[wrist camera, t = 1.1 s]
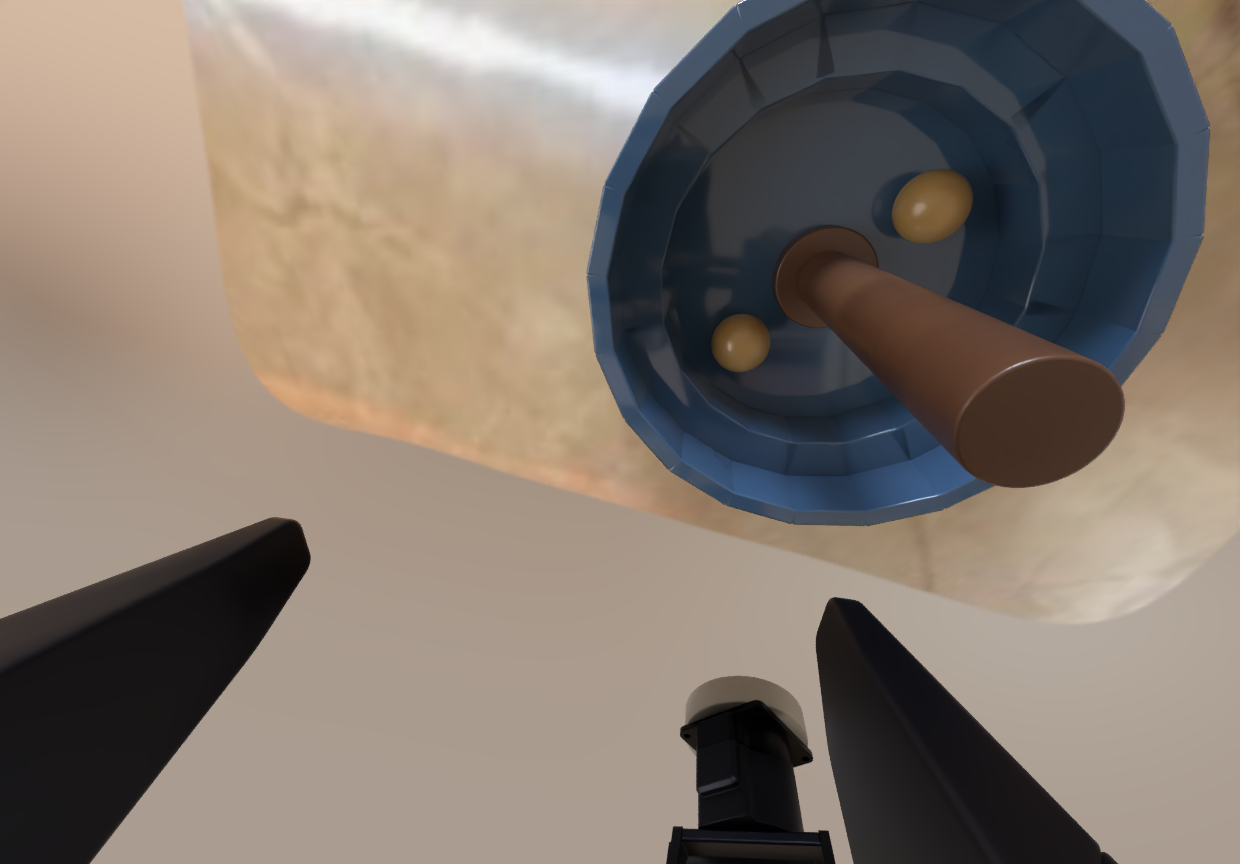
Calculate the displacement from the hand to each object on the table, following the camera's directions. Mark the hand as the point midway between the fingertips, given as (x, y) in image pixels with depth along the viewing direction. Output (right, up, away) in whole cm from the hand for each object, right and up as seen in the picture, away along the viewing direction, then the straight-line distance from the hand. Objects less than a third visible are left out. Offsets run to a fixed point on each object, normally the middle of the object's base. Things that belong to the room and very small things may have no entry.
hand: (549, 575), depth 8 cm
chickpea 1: (+5, +6, +9) cm, 12 cm away
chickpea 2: (+10, +9, +6) cm, 15 cm away
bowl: (+8, +8, +9) cm, 14 cm away
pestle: (+8, +8, +8) cm, 14 cm away
